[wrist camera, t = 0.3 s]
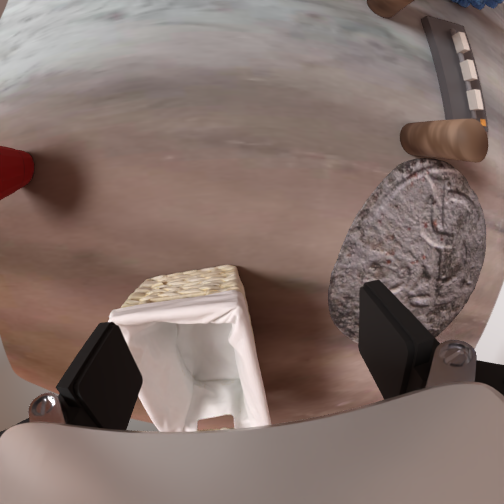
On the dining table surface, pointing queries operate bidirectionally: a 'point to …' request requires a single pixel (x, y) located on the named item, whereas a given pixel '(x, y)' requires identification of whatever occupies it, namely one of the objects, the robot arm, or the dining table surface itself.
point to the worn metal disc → (413, 246)
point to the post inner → (387, 6)
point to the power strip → (451, 70)
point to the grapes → (478, 3)
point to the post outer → (446, 139)
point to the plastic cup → (14, 170)
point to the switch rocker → (467, 72)
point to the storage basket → (194, 349)
